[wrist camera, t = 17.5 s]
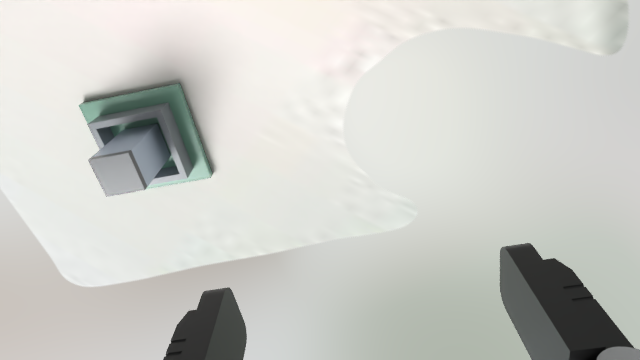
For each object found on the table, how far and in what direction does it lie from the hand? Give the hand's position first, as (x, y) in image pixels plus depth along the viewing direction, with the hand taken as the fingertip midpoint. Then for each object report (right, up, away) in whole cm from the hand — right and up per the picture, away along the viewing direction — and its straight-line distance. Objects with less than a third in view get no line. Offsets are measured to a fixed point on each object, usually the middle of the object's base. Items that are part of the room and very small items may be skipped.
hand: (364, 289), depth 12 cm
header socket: (-19, +7, +30) cm, 36 cm away
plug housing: (-19, +7, +30) cm, 36 cm away
